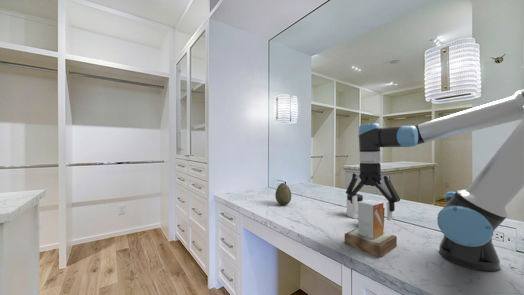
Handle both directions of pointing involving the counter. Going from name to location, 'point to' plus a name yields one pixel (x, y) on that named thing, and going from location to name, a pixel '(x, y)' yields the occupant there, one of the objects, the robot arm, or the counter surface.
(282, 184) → the decorative egg
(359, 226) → the small box
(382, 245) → the plinth
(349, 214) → the jar
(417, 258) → the counter surface
